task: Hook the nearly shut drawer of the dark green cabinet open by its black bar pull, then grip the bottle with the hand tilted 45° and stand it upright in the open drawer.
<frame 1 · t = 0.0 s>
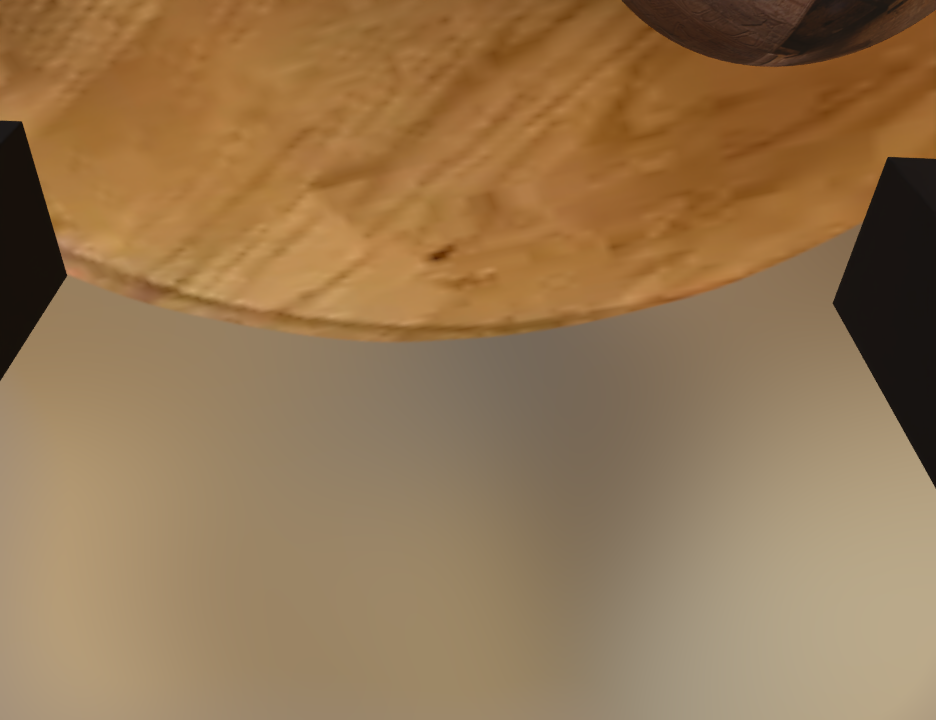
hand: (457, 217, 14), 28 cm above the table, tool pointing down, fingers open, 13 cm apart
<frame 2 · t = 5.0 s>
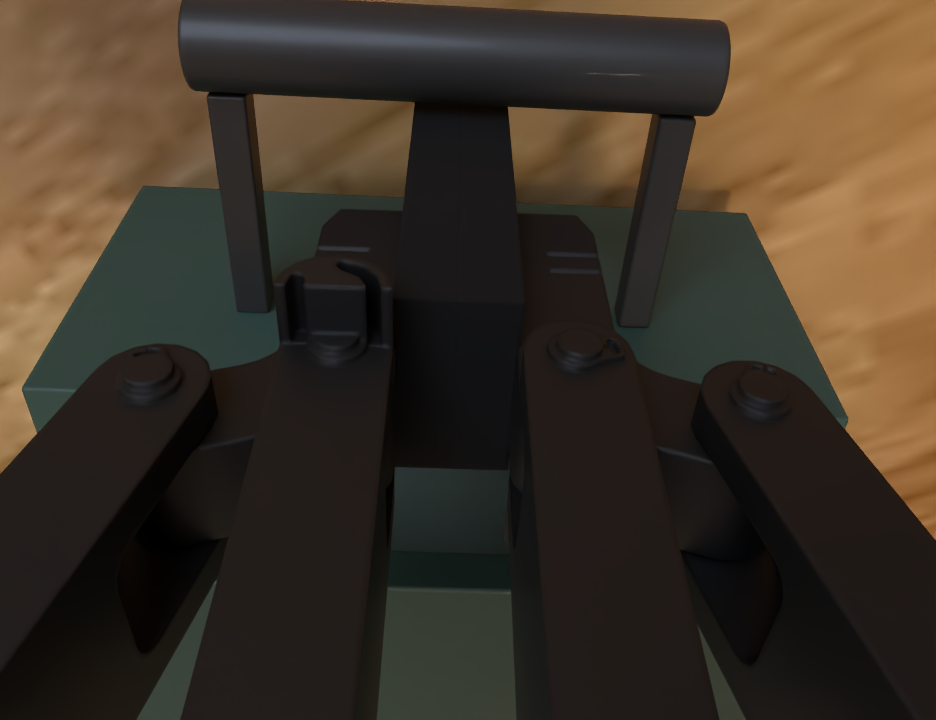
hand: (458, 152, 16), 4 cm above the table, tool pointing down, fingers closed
drawer: (436, 496, 21), point 4 cm above the table, slide at 2.5 cm, touching gripper
cabinet: (433, 540, 29), on the table
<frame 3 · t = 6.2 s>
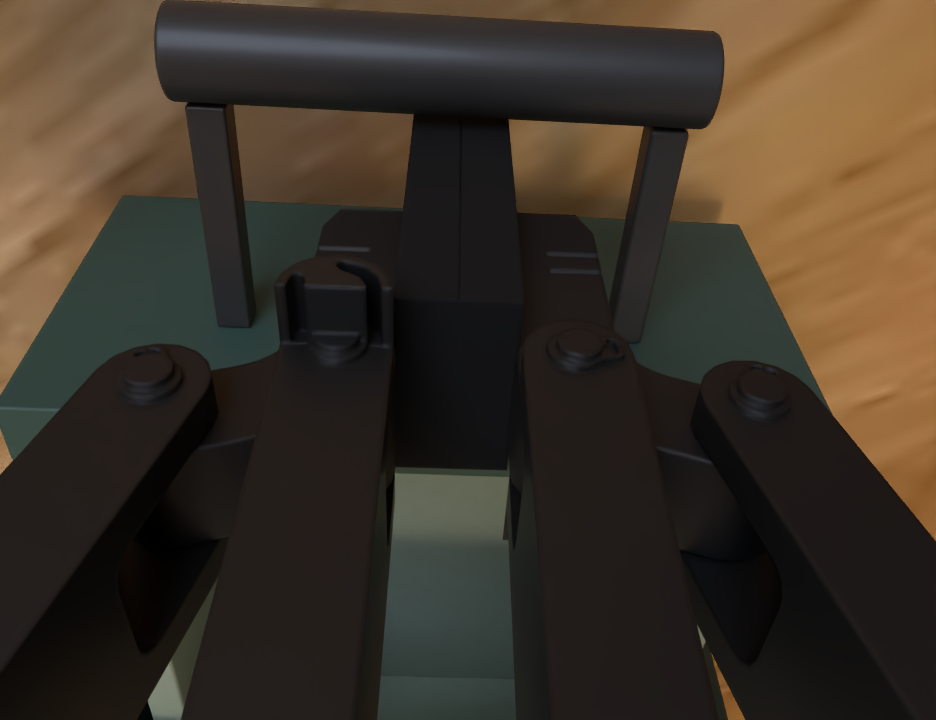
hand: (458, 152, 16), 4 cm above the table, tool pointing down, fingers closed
drawer: (423, 511, 20), point 4 cm above the table, slide at 8.4 cm, touching gripper
cabinet: (416, 656, 32), on the table
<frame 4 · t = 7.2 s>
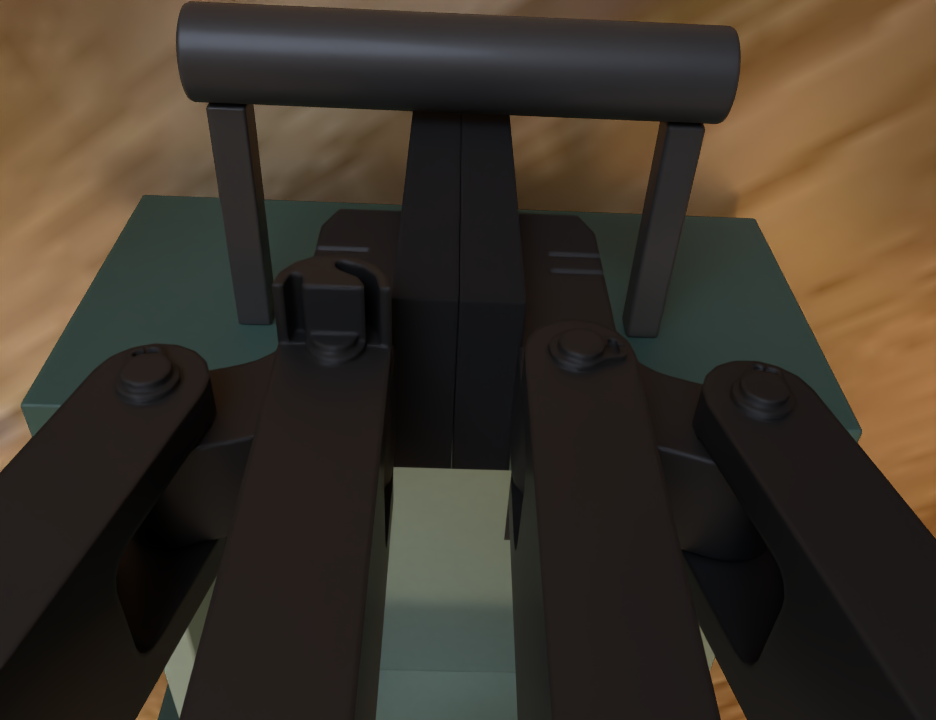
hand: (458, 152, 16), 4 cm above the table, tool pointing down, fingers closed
drawer: (442, 506, 21), point 4 cm above the table, slide at 11.8 cm, touching gripper
cabinet: (433, 699, 34), on the table
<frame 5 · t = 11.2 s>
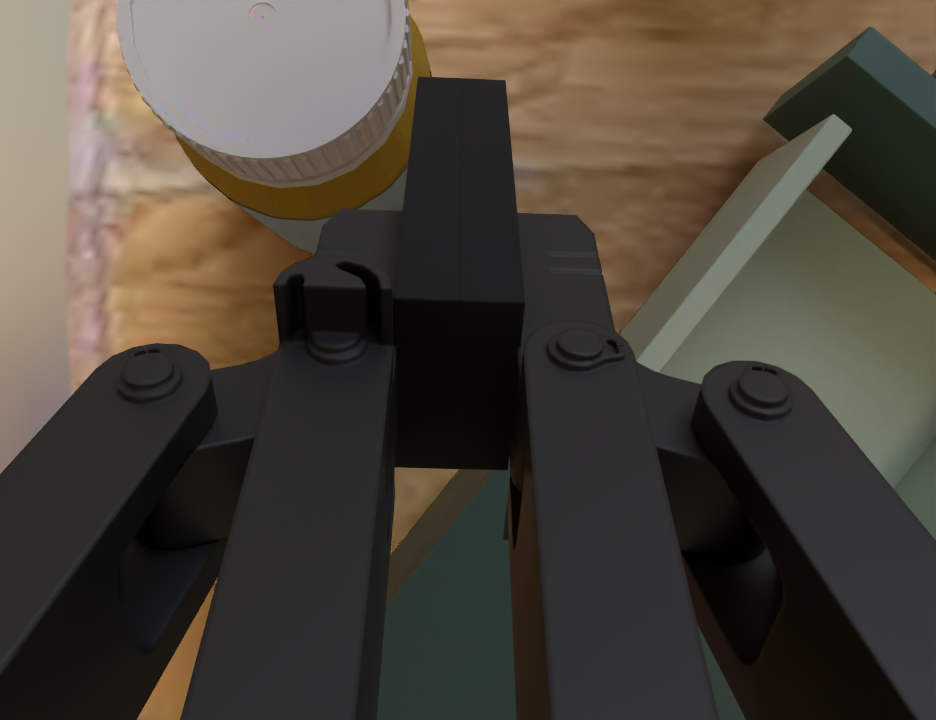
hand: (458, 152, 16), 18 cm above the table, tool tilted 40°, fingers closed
bottle: (344, 170, 34), on the table
drawer: (865, 331, 29), point 4 cm above the table, slide at 11.8 cm
cabinet: (547, 667, 34), on the table
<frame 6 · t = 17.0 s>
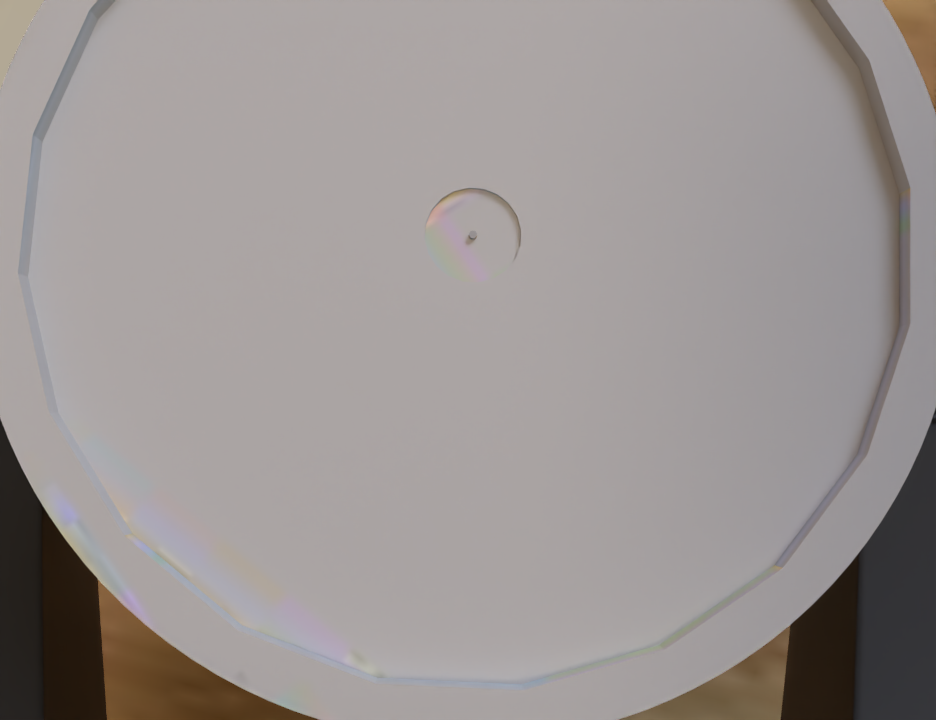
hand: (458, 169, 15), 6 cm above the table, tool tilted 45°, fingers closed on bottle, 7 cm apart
bottle: (448, 392, 20), on the table, touching gripper
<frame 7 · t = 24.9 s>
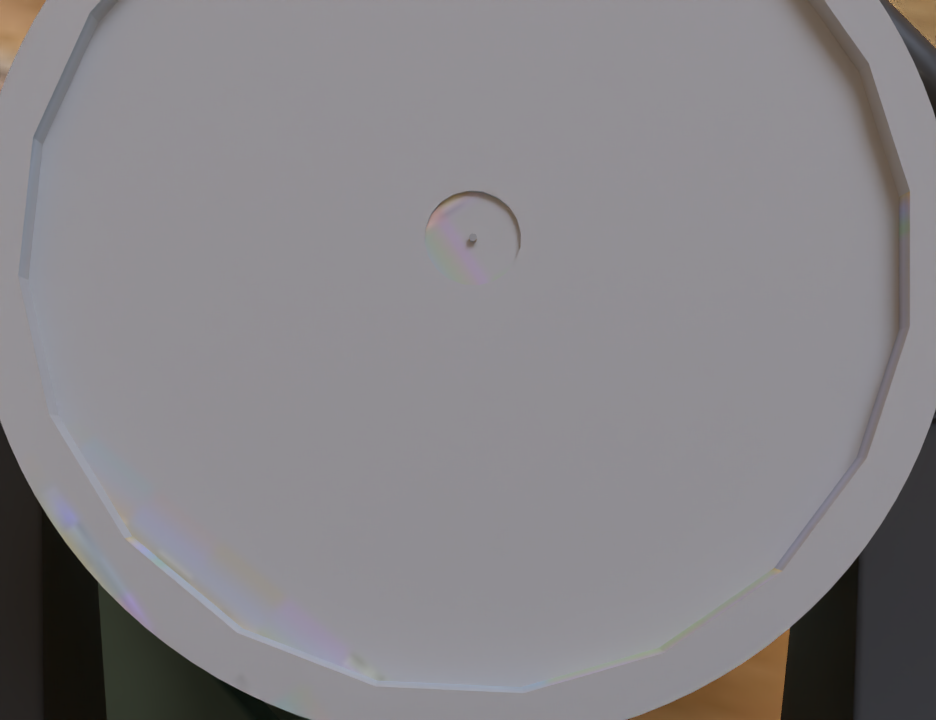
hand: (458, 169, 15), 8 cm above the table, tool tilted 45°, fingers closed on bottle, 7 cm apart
bottle: (448, 393, 20), point 3 cm above the table, touching gripper
drawer: (479, 355, 19), point 4 cm above the table, slide at 11.8 cm
when the fingers open (9 cm above the table, at t = 28.4 s): bottle drops 1 cm, resting on drawer.
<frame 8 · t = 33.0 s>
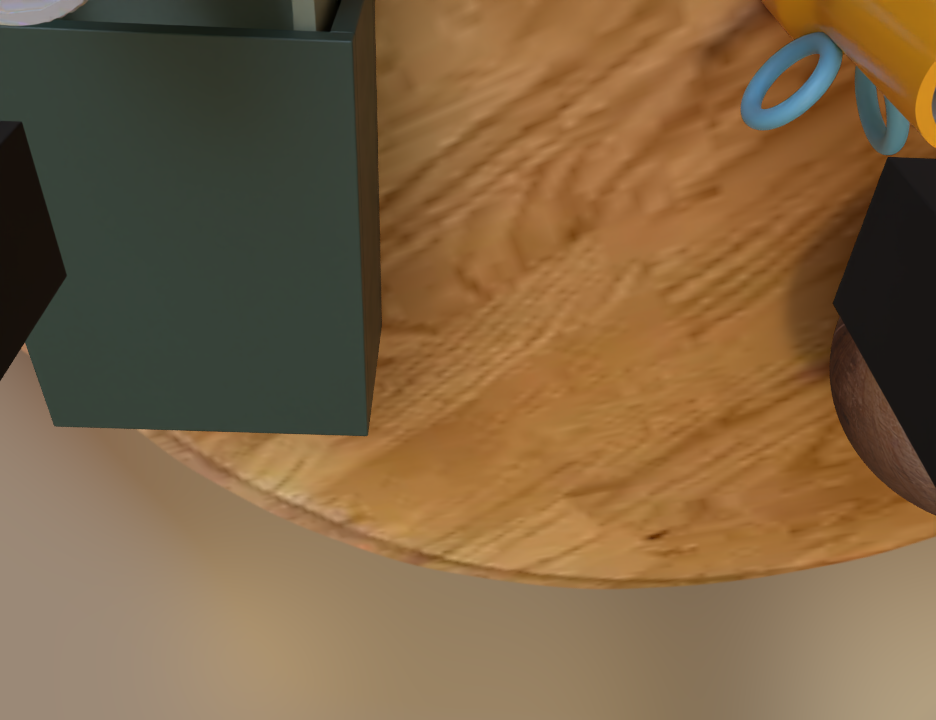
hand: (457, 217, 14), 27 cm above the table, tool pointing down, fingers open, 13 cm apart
cabinet: (225, 165, 42), on the table
wooden sphere: (935, 277, 47), on the table
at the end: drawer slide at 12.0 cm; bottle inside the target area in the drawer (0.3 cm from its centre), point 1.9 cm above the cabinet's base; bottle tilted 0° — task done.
